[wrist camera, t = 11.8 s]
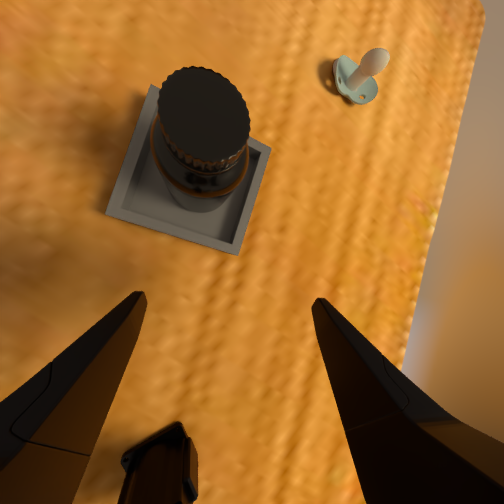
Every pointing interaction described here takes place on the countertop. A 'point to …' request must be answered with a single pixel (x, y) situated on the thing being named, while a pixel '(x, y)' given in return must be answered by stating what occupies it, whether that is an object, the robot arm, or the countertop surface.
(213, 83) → the supplement bottle
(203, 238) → the tray
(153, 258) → the countertop surface
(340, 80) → the pacifier
